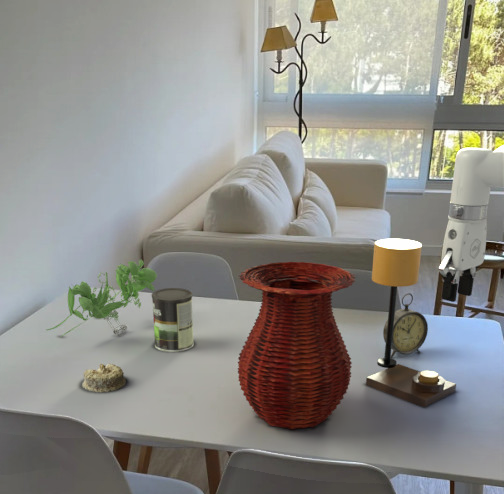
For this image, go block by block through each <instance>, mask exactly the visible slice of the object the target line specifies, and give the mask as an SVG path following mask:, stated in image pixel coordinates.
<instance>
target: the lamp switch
mask: <svg viewBox="0 0 504 494" xmlns="http://www.w3.org/2000/svg"><path fill="white" fill-rule="evenodd" d="M438 376H440V374H439V373H438V372H436V371H434V370H422V371H420V378H419V381H421V382H424V383H429V384H433V383H437V382H438Z"/></svg>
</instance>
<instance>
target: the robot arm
mask: <svg viewBox="0 0 504 494" xmlns="http://www.w3.org/2000/svg"><path fill="white" fill-rule="evenodd" d="M491 187H492V188H498V189H504V144H503V145H500V146H499V147H498V148H496V149H495V150H494V151H493V150H492V149H490V148H489V149H488V148H483V147H465V148H461V149H460V150H458V151H457V153H456V155H455V161H454V169H453V177H452V185H451V192H450V201H449V207H448V208H449V209H448V217H447V219H448V221H447V226H446V229H445V233H444V238H443V242H442V243H443V244H442V248H441V249H442V250H441V256H440V257H441V259H440V264H439V267H438V272H439V274H440V275H441V278H442V279H441V281H442V283H443V284H442V289H441V291H442V292H441V299H442V300H444V301H447V302H452V303H455V302H456V301H457V294H459V295H462V296H466V297H471V296H472V295H473V288H474V281H475V277H476V275H477V270H478V268H479V266H481V265H482V264H483V263H484V261H485V257H486V248H487V247H486V246H487V235H488V234H487V232H488V222H487V216H488V208H489V202H490V195H491V190H492V189H491ZM452 266H453V267H452ZM451 271H453V274H452V272H451ZM460 272H461V274H460ZM459 274H460V275H459ZM457 281H458V283H457Z"/></svg>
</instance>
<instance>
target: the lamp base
mask: <svg viewBox="0 0 504 494" xmlns="http://www.w3.org/2000/svg"><path fill="white" fill-rule="evenodd" d="M420 372H421V371H420V370H417V369H414V368H411V367H408V366H406V365H404V364H403V365H402V364H400V363H397V364H396V366H395V367H393V368H384V369H383V370H380V371H377V372H376V373H373V374H371V375H369V376H366V379H365V385H366V386H367V387H370V388H372V389H375V390H378V391H381V392H383V393H386V394H388V395H391V396H393V397H396V398H398V399H401V400H404V401H406V402H409V403H411V404H413V405H417V406H419V407H422V408H425V409H426V408H427V407H429V406H430V405H432V404H435V403H436V402H438V401H441V400H442V399H445V398H446V397H448V396H450V395H453V394H454V393H456V389H457V383H454V382H452V381H448V380H447V379H445V378H444V377H443V376H441V375H439V376H438V382H437V383H433V384H429V383H424V382H421V381H419V378H420Z"/></svg>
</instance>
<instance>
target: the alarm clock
mask: <svg viewBox="0 0 504 494" xmlns="http://www.w3.org/2000/svg"><path fill="white" fill-rule="evenodd" d="M408 295H409V296H410V297H411V301H410V302H409V303H404V302H403V301H404V299H405V297H406V296H408ZM413 300H414V296H413V294H412V293H409V292H408V293H405V294H404V295H402V298H401V304H402V306H403V307H404V308H399V309H397V310H395V316H394V327H393V337H392V348H391V359H393V357H394V356H395V354H396V353H398V354H401V355H410V354H413V353H415V352H417V354H420V353H421V351H420V350H419V349H420V348H421V347H422V346H423V344H424V343H425V341H426V339H427V336H428V332H429V326H428V321H427V319H426V317H425V316H424V314H423V313H420V312H418V311H415V310H413V309H410V308H409V306H410V305H412V303H413ZM387 323H388V319H386V321H385V323H384V326H383V332H382V334H383V335H382V336H383V341H384V343H385V344H386V334H387Z"/></svg>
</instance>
